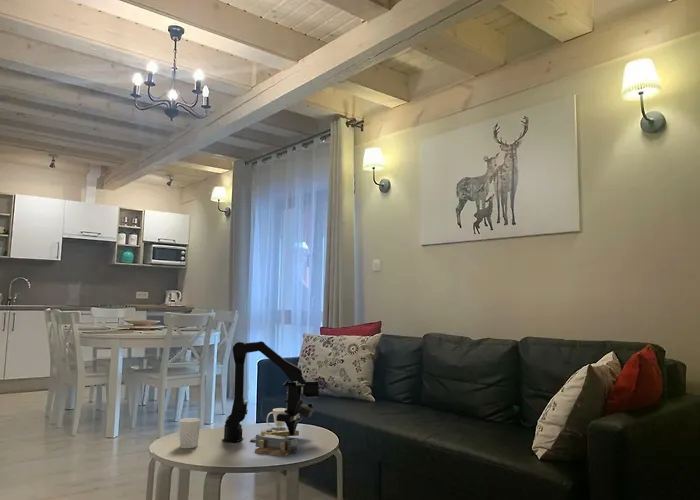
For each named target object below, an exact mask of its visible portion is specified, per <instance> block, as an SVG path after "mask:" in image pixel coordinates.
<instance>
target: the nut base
mask: <svg viewBox="0 0 700 500" xmlns="http://www.w3.org/2000/svg"><path fill="white" fill-rule="evenodd" d="M286 437H288V436H286ZM250 442H251V443H256V436H255V437H254V438H250Z"/></svg>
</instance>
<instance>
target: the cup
mask: <svg viewBox="0 0 700 500" xmlns="http://www.w3.org/2000/svg"><path fill="white" fill-rule="evenodd" d="M285 410H287V408H284V407H278V408H277V407H276V408H273V409H272V411H271V412H269V413H268V414H267V416H266V424H267V425H268V426H269V427H271V428H273V429H277V428H282V429H284V428H285V425H286V423H285V422H282V421H276V417H277V415H278V414H279V413H285ZM270 415H272V416H273V423H274V426H272V425H271V424H270V423H269V417H270Z"/></svg>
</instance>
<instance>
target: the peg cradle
mask: <svg viewBox="0 0 700 500" xmlns="http://www.w3.org/2000/svg"><path fill="white" fill-rule="evenodd" d="M290 452H291V453H293V452H292V451H286V450H285V443H281V448H280V450H278V449H270V448H264V440H260V441H259V447H256V448H255V454H264V455H271V456H278V455H279V456H278V457H285V455H286V454H287V455H289V454H291V453H290ZM288 453H289V454H288ZM287 455H286V456H287Z"/></svg>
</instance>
